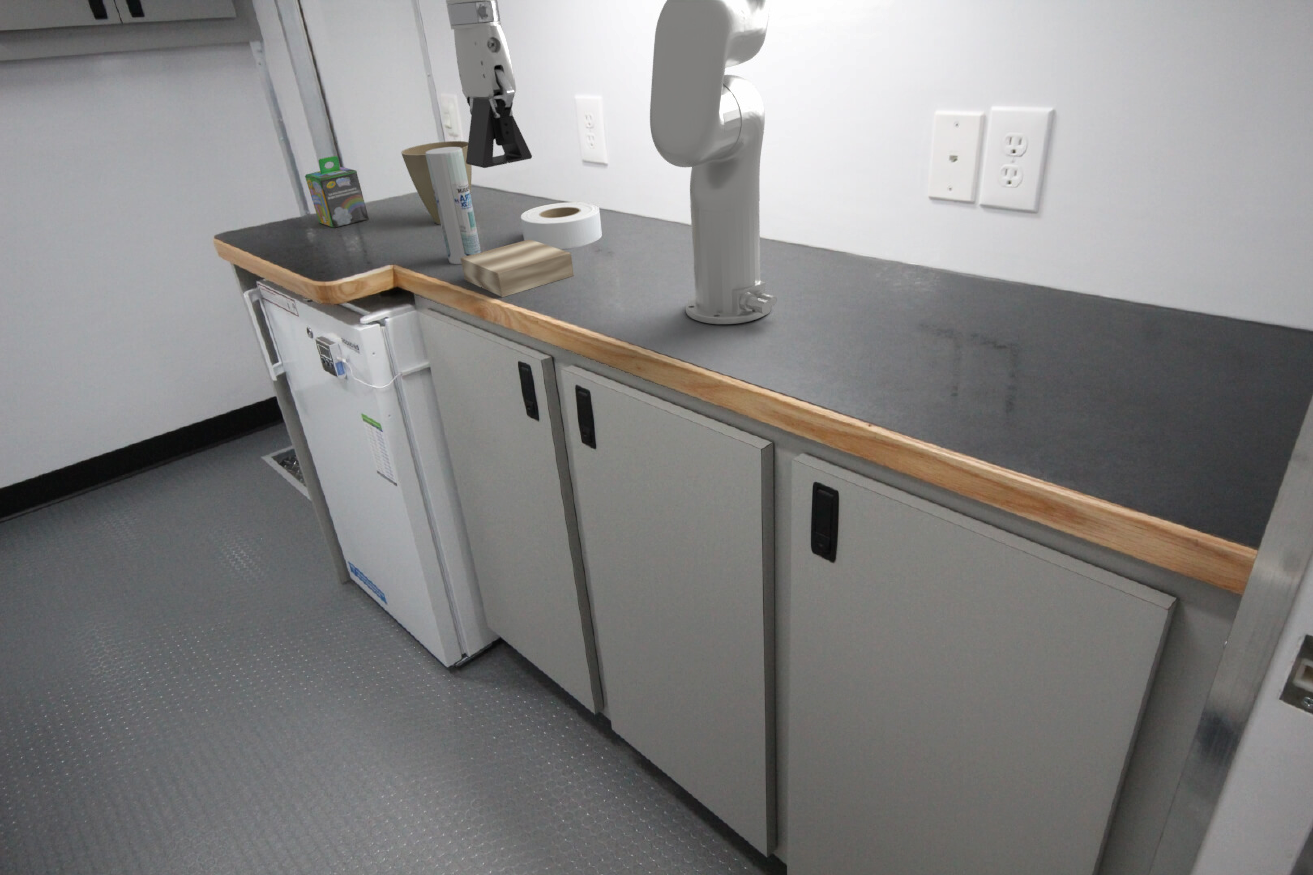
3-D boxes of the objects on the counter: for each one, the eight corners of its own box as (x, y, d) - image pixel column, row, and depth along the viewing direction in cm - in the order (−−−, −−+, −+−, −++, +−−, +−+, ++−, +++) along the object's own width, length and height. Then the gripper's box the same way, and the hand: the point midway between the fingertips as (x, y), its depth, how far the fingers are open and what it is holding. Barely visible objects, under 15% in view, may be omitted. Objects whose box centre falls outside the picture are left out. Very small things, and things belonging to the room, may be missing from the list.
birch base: (573, 275, 137) (570, 253, 135) (502, 297, 130) (498, 273, 128) (533, 260, 147) (529, 239, 145) (464, 279, 140) (460, 257, 138)
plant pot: (416, 218, 185) (400, 147, 177) (479, 209, 188) (466, 138, 180) (419, 233, 172) (402, 157, 165) (487, 222, 176) (473, 147, 168)
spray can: (456, 254, 155) (434, 147, 145) (487, 253, 154) (467, 146, 144) (442, 264, 149) (418, 154, 140) (474, 264, 148) (452, 152, 138)
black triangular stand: (482, 168, 125) (467, 85, 119) (466, 164, 129) (451, 84, 123) (532, 158, 129) (520, 78, 123) (515, 155, 133) (502, 77, 127)
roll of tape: (617, 237, 157) (614, 209, 154) (547, 256, 150) (542, 226, 147) (578, 224, 169) (575, 198, 166) (511, 240, 162) (507, 213, 159)
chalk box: (354, 215, 194) (337, 151, 186) (370, 219, 188) (353, 154, 180) (317, 223, 188) (298, 159, 181) (333, 229, 182) (314, 162, 175)
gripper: (524, 12, 114) (543, 143, 123) (471, 16, 127) (491, 135, 136) (478, 16, 111) (500, 151, 119) (427, 20, 123) (451, 142, 132)
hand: (495, 141), depth 127 cm, fingers closed on black triangular stand, 6 cm apart
